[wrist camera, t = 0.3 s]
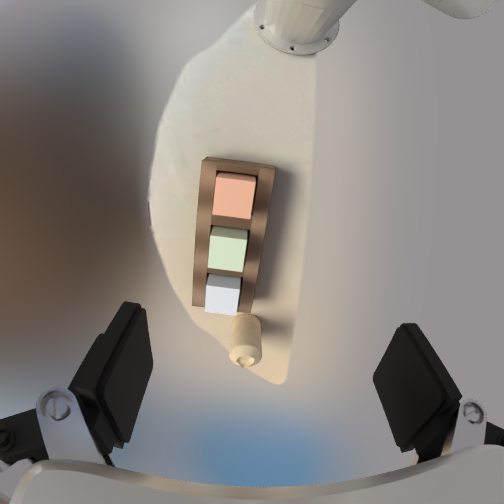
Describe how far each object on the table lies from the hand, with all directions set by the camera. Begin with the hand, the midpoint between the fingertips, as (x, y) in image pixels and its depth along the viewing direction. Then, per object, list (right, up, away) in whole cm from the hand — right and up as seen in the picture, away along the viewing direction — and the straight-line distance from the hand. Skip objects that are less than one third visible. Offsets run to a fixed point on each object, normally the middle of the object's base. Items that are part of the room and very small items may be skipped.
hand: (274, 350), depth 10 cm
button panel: (-4, +6, +36) cm, 37 cm away
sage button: (-4, +5, +34) cm, 34 cm away
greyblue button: (-5, -2, +37) cm, 38 cm away
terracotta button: (-3, +12, +30) cm, 33 cm away
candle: (-2, -10, +44) cm, 45 cm away
